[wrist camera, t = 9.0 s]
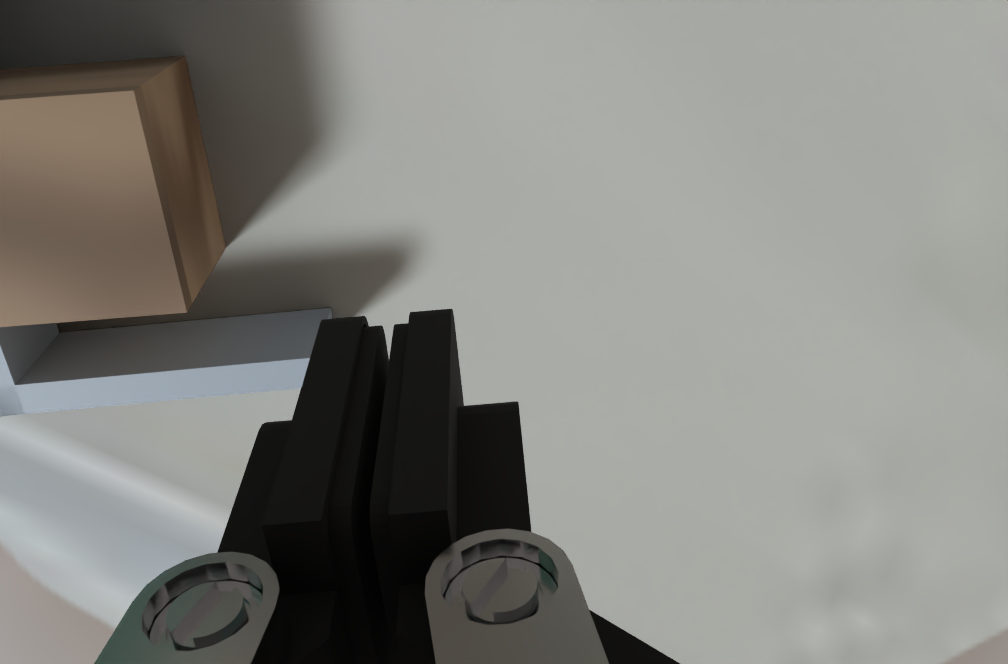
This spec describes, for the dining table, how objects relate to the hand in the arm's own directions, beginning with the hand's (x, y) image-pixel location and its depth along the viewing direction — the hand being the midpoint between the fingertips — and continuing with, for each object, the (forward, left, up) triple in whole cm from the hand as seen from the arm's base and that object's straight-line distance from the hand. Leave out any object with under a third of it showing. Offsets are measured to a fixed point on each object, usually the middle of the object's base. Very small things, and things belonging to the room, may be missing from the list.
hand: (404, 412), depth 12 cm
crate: (+1, -10, -18) cm, 20 cm away
